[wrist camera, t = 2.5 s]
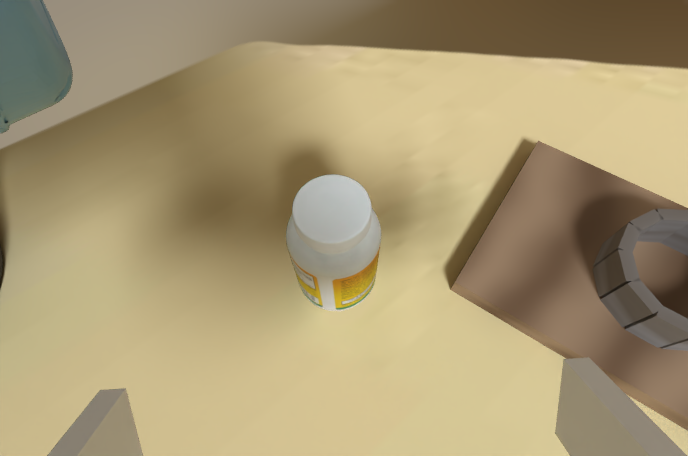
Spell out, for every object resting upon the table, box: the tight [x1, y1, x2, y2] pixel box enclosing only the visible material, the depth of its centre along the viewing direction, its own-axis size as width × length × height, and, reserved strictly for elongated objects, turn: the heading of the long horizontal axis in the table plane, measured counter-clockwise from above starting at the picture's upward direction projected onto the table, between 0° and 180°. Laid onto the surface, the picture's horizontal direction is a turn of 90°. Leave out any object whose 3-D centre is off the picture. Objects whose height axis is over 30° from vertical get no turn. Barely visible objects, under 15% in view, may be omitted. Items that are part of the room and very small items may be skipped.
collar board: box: [450, 141, 688, 430], centre depth 26 cm, size 22×14×4 cm, turn 56°
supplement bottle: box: [286, 174, 381, 311], centre depth 25 cm, size 5×5×10 cm
